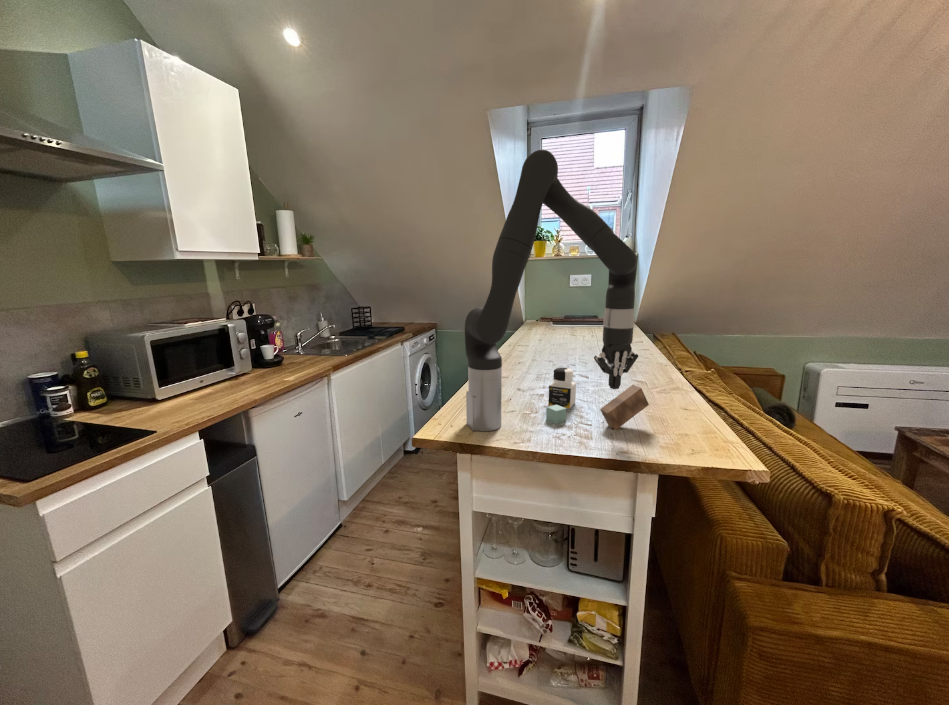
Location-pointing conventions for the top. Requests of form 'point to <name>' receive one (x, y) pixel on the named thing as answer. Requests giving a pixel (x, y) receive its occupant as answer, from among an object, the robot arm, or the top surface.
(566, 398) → the medicine bottle
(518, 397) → the top surface
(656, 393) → the top surface
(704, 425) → the top surface
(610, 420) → the walnut block
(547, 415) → the pale green block
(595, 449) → the top surface
